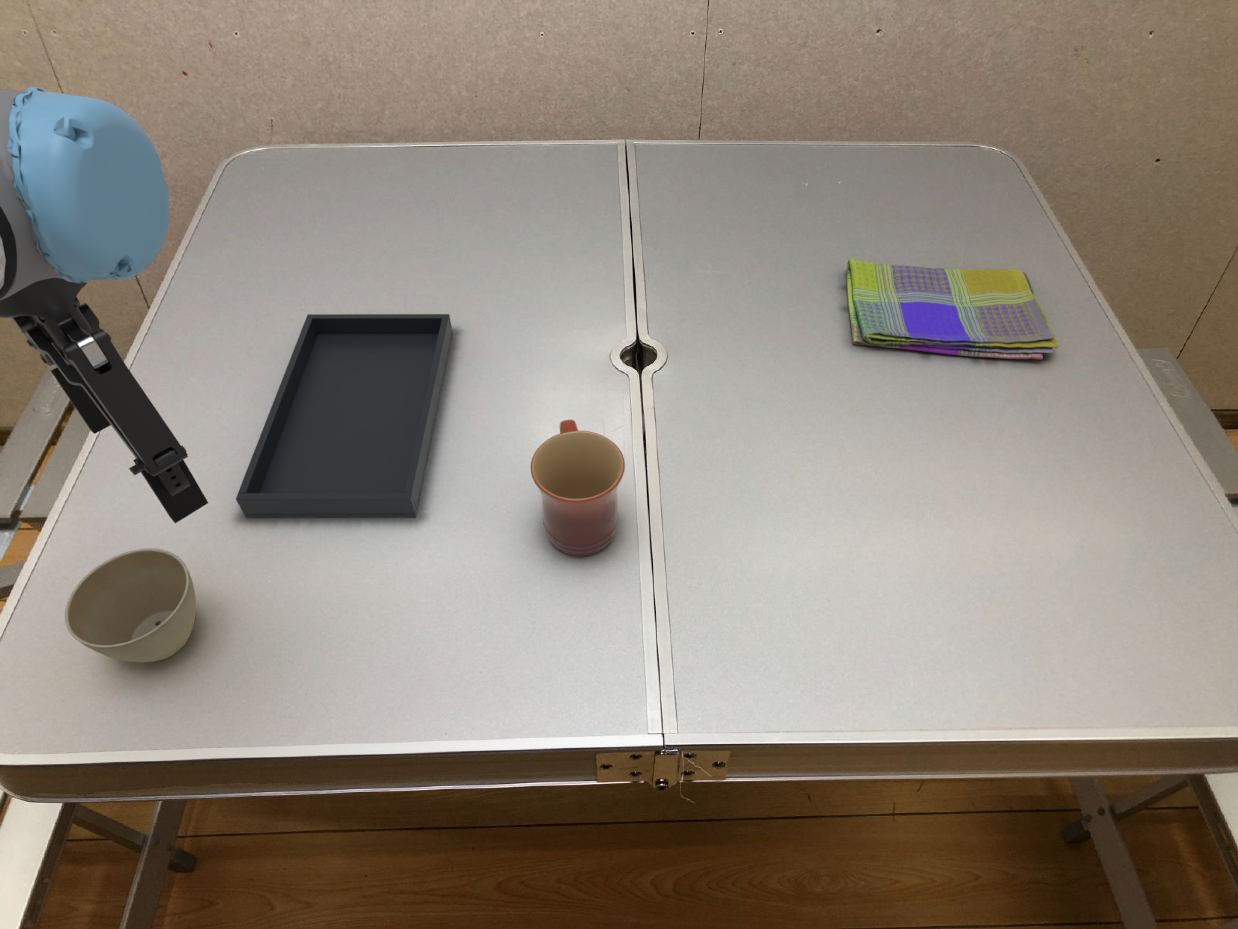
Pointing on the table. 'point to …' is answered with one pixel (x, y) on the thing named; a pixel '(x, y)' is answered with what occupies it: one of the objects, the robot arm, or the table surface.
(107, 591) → the flower pot
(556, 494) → the mug
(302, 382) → the tray
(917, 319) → the dish towel
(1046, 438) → the table surface
